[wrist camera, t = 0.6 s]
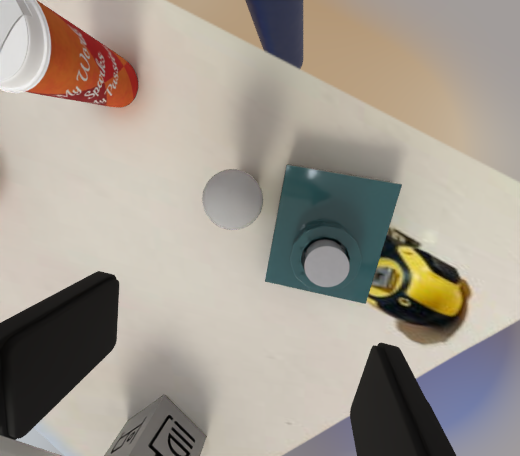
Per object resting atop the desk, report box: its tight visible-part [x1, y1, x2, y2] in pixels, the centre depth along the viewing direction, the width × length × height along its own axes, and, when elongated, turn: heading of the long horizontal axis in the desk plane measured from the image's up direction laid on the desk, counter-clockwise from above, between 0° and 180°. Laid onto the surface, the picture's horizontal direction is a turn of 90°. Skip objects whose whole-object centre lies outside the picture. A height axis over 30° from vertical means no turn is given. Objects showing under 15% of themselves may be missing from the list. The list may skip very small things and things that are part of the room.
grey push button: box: [304, 239, 350, 287], centre depth 28 cm, size 4×4×2 cm
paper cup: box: [0, 0, 138, 107], centre depth 26 cm, size 8×8×14 cm
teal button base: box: [265, 164, 402, 303], centre depth 31 cm, size 14×12×5 cm
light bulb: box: [202, 169, 263, 230], centre depth 28 cm, size 6×6×10 cm
